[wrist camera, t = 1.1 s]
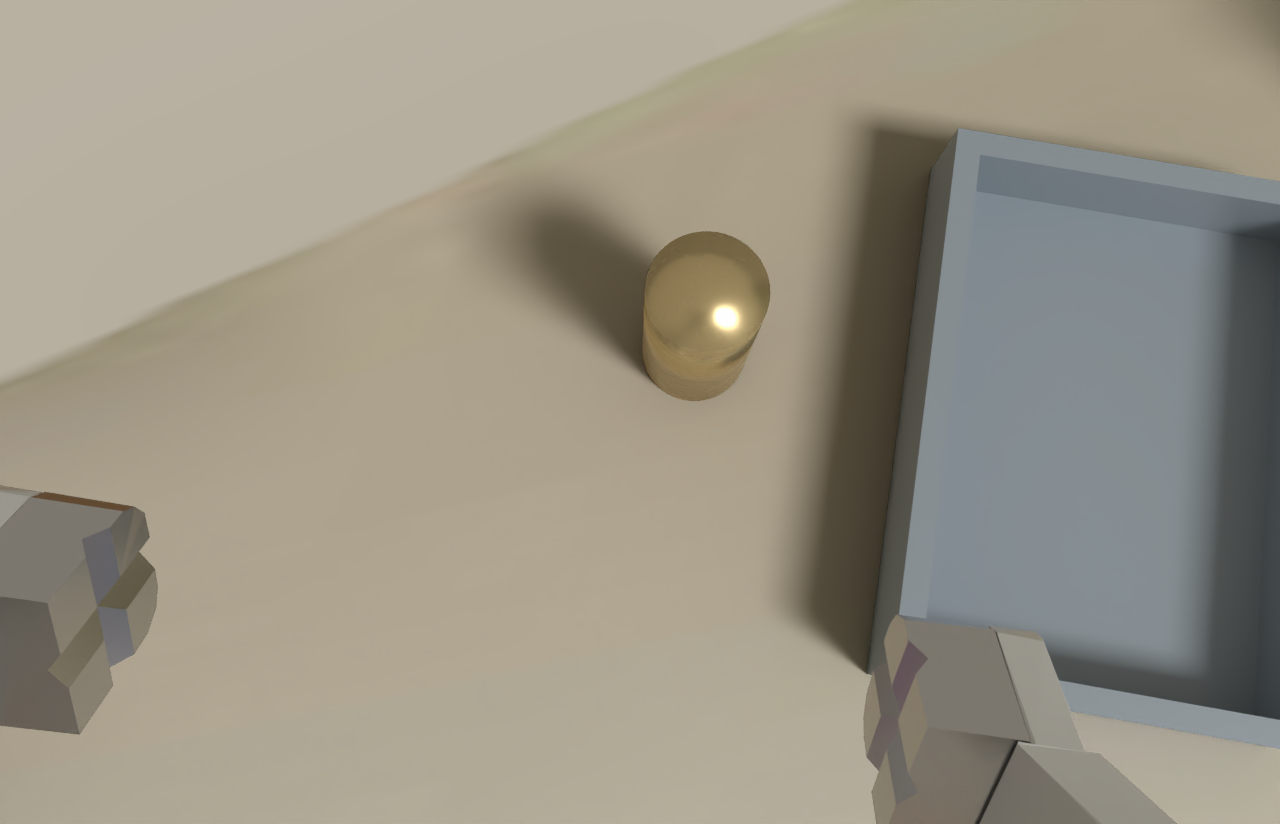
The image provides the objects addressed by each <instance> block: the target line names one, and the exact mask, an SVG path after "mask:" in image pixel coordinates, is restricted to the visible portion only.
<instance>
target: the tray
mask: <svg viewBox="0 0 1280 824" xmlns="http://www.w3.org/2000/svg"><path fill="white" fill-rule="evenodd" d="M896 614H897V615H905V616H912V617H920V618H927V619H935V620H942V621H949V622H957V623H964V624H972V625H979V626H985V627H989V626H994V627H1002V628H1010V629H1018V630H1026V631H1035V632H1036V633H1037V634H1038V635H1040V636H1041V637H1042V638H1043V641H1044V643H1045V646H1046V648H1047V651H1048V654H1049V656H1050V659H1051V661H1052V664H1053V667H1054V669H1055V672H1056V675H1057V677H1058V680H1059V682H1060V685H1061V688H1062V690H1063V693H1064V696H1065V698H1066V701H1067V703H1068V706H1069V709H1070V711H1073V712H1079V713H1084V714H1090V715H1095V716H1101V717H1106V718H1112V719H1117V720H1123V721H1129V722H1134V723H1140V724H1145V725H1151V726H1156V727H1162V728H1167V729H1173V730H1178V731H1184V732H1189V733H1195V734H1201V735H1206V736H1212V737H1217V738H1223V739H1228V740H1234V741H1239V742H1245V743H1250V744H1256V745H1261V746H1267V747H1273V748H1278V749H1280V181H1274V180H1268V179H1262V178H1256V177H1250V176H1244V175H1238V174H1232V173H1226V172H1220V171H1214V170H1208V169H1202V168H1196V167H1190V166H1184V165H1178V164H1172V163H1166V162H1160V161H1154V160H1148V159H1142V158H1136V157H1130V156H1124V155H1118V154H1112V153H1106V152H1100V151H1094V150H1088V149H1082V148H1076V147H1070V146H1064V145H1058V144H1052V143H1045V142H1039V141H1033V140H1027V139H1021V138H1015V137H1009V136H1003V135H997V134H991V133H985V132H979V131H973V130H967V129H961V128H958V130H957V131H956V133H955V134H954V136H953V137H952V139H951V140H950V142H949V143H948V145H947V146H946V148H945V149H944V151H943V152H942V154H941V155H940V157H939V158H938V160H937V161H936V163H935V164H934V166H933V167H932V169H931V171H930V177H929V185H928V193H927V201H926V208H925V216H924V224H923V232H922V240H921V248H920V256H919V263H918V271H917V279H916V287H915V295H914V303H913V311H912V319H911V326H910V334H909V342H908V350H907V358H906V366H905V374H904V381H903V389H902V397H901V405H900V413H899V421H898V429H897V436H896V444H895V452H894V460H893V468H892V476H891V484H890V492H889V499H888V507H887V515H886V523H885V531H884V539H883V547H882V554H881V562H880V570H879V578H878V586H877V594H876V602H875V609H874V617H873V625H872V633H871V641H870V649H869V657H868V665H867V672H866V674H870V675H872V674H873V671H874V670H875V669H877V668H878V667H880V666H881V665H883V664H884V663H886V662H887V657H886V651H885V645H884V639H885V636H886V633H887V630H888V628H889V625H890V623H891V621H892V620H893V619H894V617H895V616H896Z"/></svg>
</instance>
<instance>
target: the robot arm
mask: <svg viewBox="0 0 1280 824" xmlns="http://www.w3.org/2000/svg"><path fill="white" fill-rule="evenodd" d="M149 537H150V536H149V532H148V527H147V522H146V518H145V513H144V512H142V511H141V510H139V509H137V508H136V507H134V506H128V505H122V504H116V503H110V502H103V501H97V500H91V499H85V498H79V497H73V496H67V495H61V494H55V493H49V492H44V493H42V492H37V491H31V490H25V489H19V488H13V487H7V486H1V485H0V726H8V727H17V728H26V729H35V730H44V731H53V732H62V733H71V734H80V733H81V732H82V730H83V729H84V728H85V726H86V725H87V723H88V722H89V720H90V719H91V717H92V716H93V714H94V713H95V711H96V710H97V708H98V707H99V706H100V704H101V703H102V701H103V700H104V698H105V697H106V695H107V694H108V692H109V691H110V689H111V688H112V686H113V682H112V677H111V672H110V667H111V666H113V665H115V664H117V663H119V662H121V661H122V660H124V659H126V658H128V657H130V656H132V655H133V654H135V652H136V651H137V649H138V648H139V646H140V644H141V643H142V641H143V640H144V638H145V637H146V635H147V634H148V631H149V628H150V625H151V622H152V619H153V616H154V613H155V610H156V604H157V590H158V585H157V579H156V572H155V569H154V567H153V566H152V565H151V564H150V563H149V562H148V561H147V560H146V559H145V558H144V557H143V556H142V555H141V553H140V552H139V551H140V550H141V548H142V547H143V546H144V544H145V543H146V541H147V540H148V539H149ZM884 645H885V651H886V657H887V662H886V663H884V664H883V665H881V666H880V667H878V668H877V669H875V670H874V671H873V674H872V677H871V681H870V684H869V687H868V691H867V695H866V703H865V710H864V742H865V749H866V757H867V758H868V759H869V760H870V762H871V763H872V764H873V765H874V766H875V767H876V768H877V770H878V771H879V773H878V776H877V778H876V781H875V784H874V787H873V790H872V798H873V805H874V811H875V818H876V824H1177V823H1176V822H1175V821H1173V820H1172V819H1171V818H1170V817H1169V816H1168V815H1167V814H1166V813H1165V812H1164V811H1162V810H1161V809H1160V808H1159V807H1158V806H1157V805H1156V804H1155V803H1154V802H1153V801H1151V800H1150V799H1149V798H1148V797H1147V796H1146V795H1145V794H1144V793H1143V792H1142V791H1140V790H1139V789H1138V788H1137V787H1136V786H1135V785H1134V784H1133V783H1132V782H1130V781H1129V780H1128V779H1127V778H1126V777H1125V776H1124V775H1123V774H1122V773H1121V772H1119V771H1118V770H1117V769H1116V768H1115V767H1114V766H1113V765H1112V764H1111V763H1110V762H1108V761H1107V760H1106V759H1105V758H1104V757H1103V756H1102V755H1101V754H1099V753H1092V752H1086V751H1085V748H1084V745H1083V743H1082V740H1081V737H1080V735H1079V732H1078V730H1077V727H1076V724H1075V722H1074V719H1073V717H1072V714H1071V711H1070V709H1069V706H1068V703H1067V701H1066V698H1065V696H1064V693H1063V690H1062V688H1061V685H1060V682H1059V680H1058V677H1057V675H1056V672H1055V669H1054V667H1053V664H1052V661H1051V659H1050V656H1049V654H1048V651H1047V648H1046V646H1045V643H1044V641H1043V638H1042V637H1041V636H1040V635H1038V634H1037V633H1036V632H1035V631H1026V630H1018V629H1010V628H1002V627H994V626H989V627H985V626H979V625H972V624H964V623H957V622H949V621H942V620H935V619H927V618H920V617H912V616H905V615H897V614H896V616H895V617H894V619H893V620H892V621H891V623H890V625H889V628H888V630H887V633H886V636H885V639H884Z"/></svg>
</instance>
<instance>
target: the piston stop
mask: <svg viewBox="0 0 1280 824" xmlns="http://www.w3.org/2000/svg"><path fill="white" fill-rule="evenodd" d="M769 301H770V284H769V279H768V275H767V272H766V270H765V268H764V266H763V264H762V262H761V260H760V259H759V257H758V256H757V255H756V254H755V253H754V251H753V250H751V249H750V248H749V247H748V246H747V245H746V244H744V243H743V242H741V241H740V240H738V239H736V238H734V237H732V236H729V235H726V234H722V233H718V232H695V233H691V234H687V235H684V236H682V237H679V238H677V239H675V240H674V241H672V242H670V243H669V244H668V245H667V246H665V247H664V248H663V249H662V250H661V251H660V252H659V253H658V255H657V256H656V257H655V259H654V260H653V262H652V264H651V266H650V268H649V270H648V273H647V277H646V282H645V296H644V319H643V342H642V356H643V362H644V365H645V368H646V370H647V372H648V374H649V376H650V378H651V379H652V380H653V382H654V383H655V384H656V385H657V386H658V387H659V388H660V389H661V390H663V391H664V392H666V393H667V394H669V395H671V396H673V397H676V398H678V399H682V400H688V401H700V400H706V399H710V398H713V397H715V396H718V395H719V394H721V393H723V392H724V391H726V390H727V389H728V388H729V387H730V386H731V385H732V384H733V383H734V382H735V381H736V379H737V378H738V376H739V374H740V372H741V370H742V368H743V366H744V363H745V361H746V359H747V356H748V354H749V352H750V349H751V347H752V345H753V343H754V340H755V338H756V336H757V333H758V331H759V329H760V326H761V324H762V322H763V320H764V317H765V315H766V312H767V309H768V306H769Z"/></svg>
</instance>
